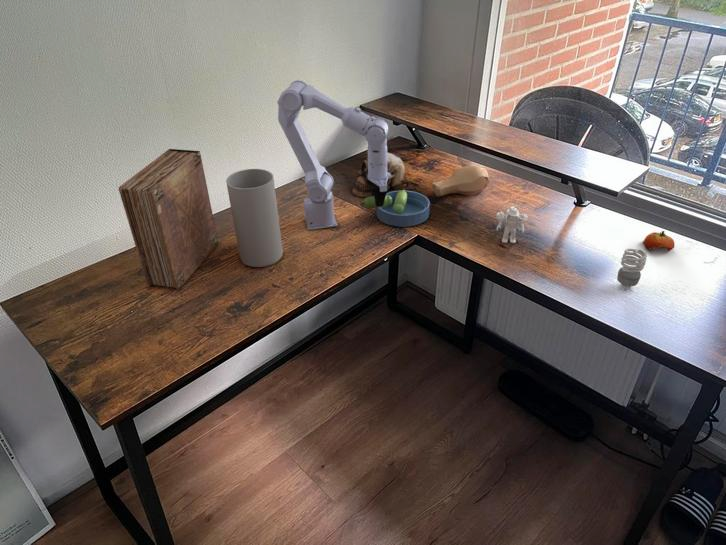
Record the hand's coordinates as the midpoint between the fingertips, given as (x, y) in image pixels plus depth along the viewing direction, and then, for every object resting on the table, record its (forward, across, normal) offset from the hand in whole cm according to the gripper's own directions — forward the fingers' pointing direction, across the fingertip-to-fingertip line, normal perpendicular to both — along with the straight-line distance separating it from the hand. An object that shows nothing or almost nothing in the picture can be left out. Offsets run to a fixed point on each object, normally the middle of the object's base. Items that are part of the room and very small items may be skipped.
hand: (378, 202), depth 171 cm
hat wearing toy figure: (+9, -18, -36) cm, 41 cm away
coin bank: (+9, +26, -6) cm, 28 cm away
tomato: (+9, -33, -76) cm, 83 cm away
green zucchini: (+1, 0, 0) cm, 1 cm away
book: (+8, -6, +59) cm, 60 cm away
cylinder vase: (+8, -8, +37) cm, 39 cm away
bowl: (+8, +5, -10) cm, 14 cm away
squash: (+9, +16, -34) cm, 38 cm away
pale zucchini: (+7, +9, -10) cm, 15 cm away
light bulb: (+9, -48, -55) cm, 74 cm away
